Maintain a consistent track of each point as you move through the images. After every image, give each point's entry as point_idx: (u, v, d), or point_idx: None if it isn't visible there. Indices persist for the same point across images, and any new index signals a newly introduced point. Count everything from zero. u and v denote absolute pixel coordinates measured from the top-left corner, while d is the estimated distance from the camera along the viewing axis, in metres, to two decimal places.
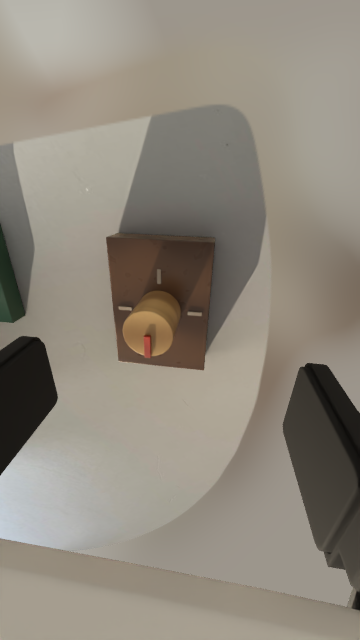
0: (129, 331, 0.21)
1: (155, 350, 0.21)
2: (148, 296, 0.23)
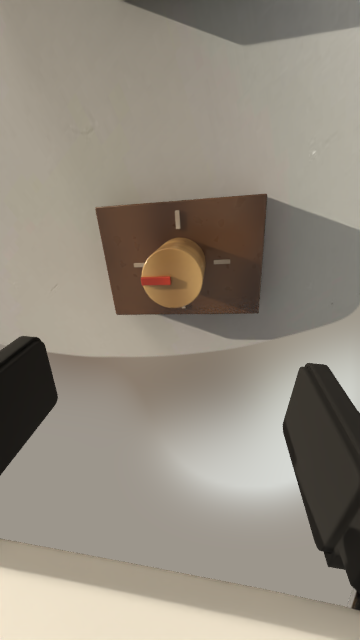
0: (172, 257, 0.17)
1: (152, 288, 0.18)
2: (203, 257, 0.20)
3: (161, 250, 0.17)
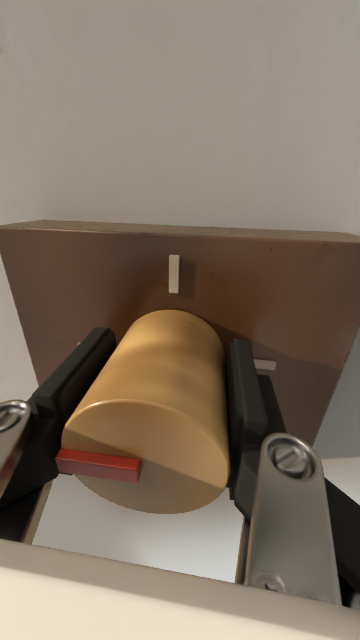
0: (146, 423, 0.06)
1: None
2: (223, 366, 0.09)
3: (115, 403, 0.05)
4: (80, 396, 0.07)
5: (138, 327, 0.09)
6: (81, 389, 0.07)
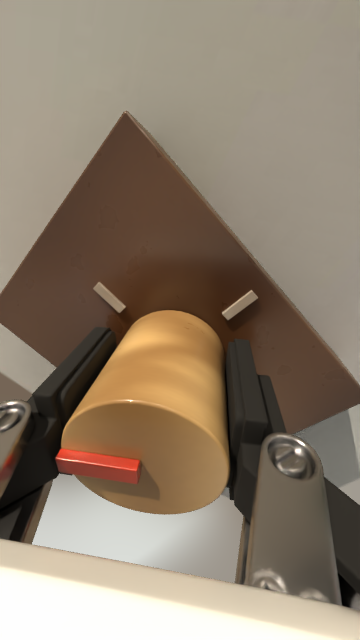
0: (146, 423, 0.06)
1: None
2: (223, 367, 0.09)
3: (116, 404, 0.05)
4: (80, 396, 0.07)
5: (138, 327, 0.09)
6: (81, 389, 0.07)
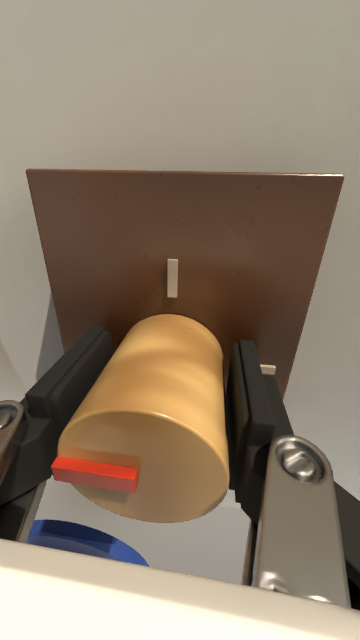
0: (144, 432, 0.05)
1: None
2: (222, 372, 0.09)
3: (113, 412, 0.05)
4: (74, 397, 0.07)
5: (137, 332, 0.09)
6: (75, 389, 0.07)
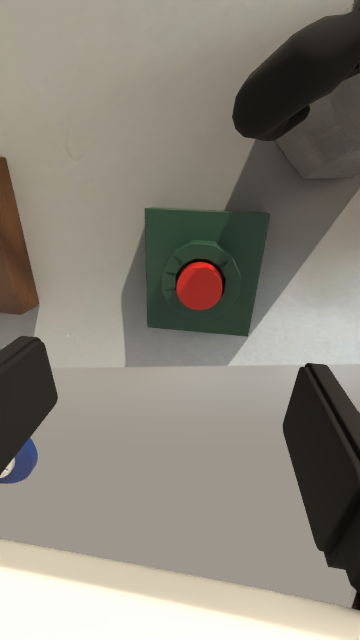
0: None
1: None
2: None
3: None
4: None
5: None
6: None
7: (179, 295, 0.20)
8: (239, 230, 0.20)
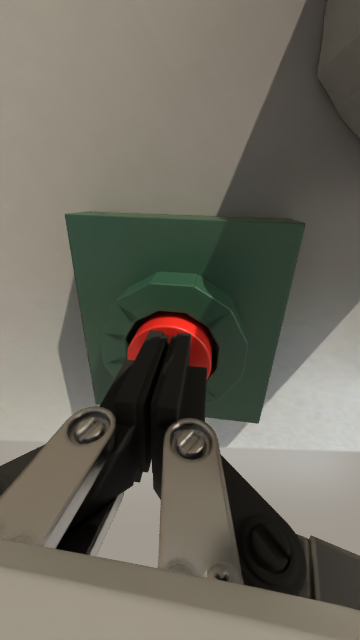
0: None
1: None
2: None
3: None
4: (151, 402, 0.07)
5: None
6: (151, 395, 0.07)
7: None
8: (244, 254, 0.10)
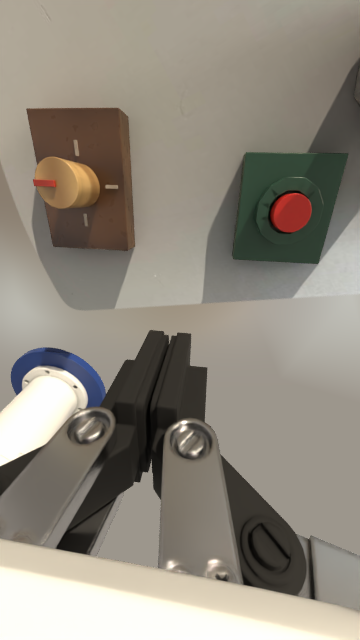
0: (54, 164, 0.23)
1: (43, 190, 0.24)
2: (92, 178, 0.26)
3: (47, 158, 0.23)
4: (151, 402, 0.07)
5: None
6: (151, 395, 0.07)
7: (275, 219, 0.25)
8: (322, 168, 0.25)
